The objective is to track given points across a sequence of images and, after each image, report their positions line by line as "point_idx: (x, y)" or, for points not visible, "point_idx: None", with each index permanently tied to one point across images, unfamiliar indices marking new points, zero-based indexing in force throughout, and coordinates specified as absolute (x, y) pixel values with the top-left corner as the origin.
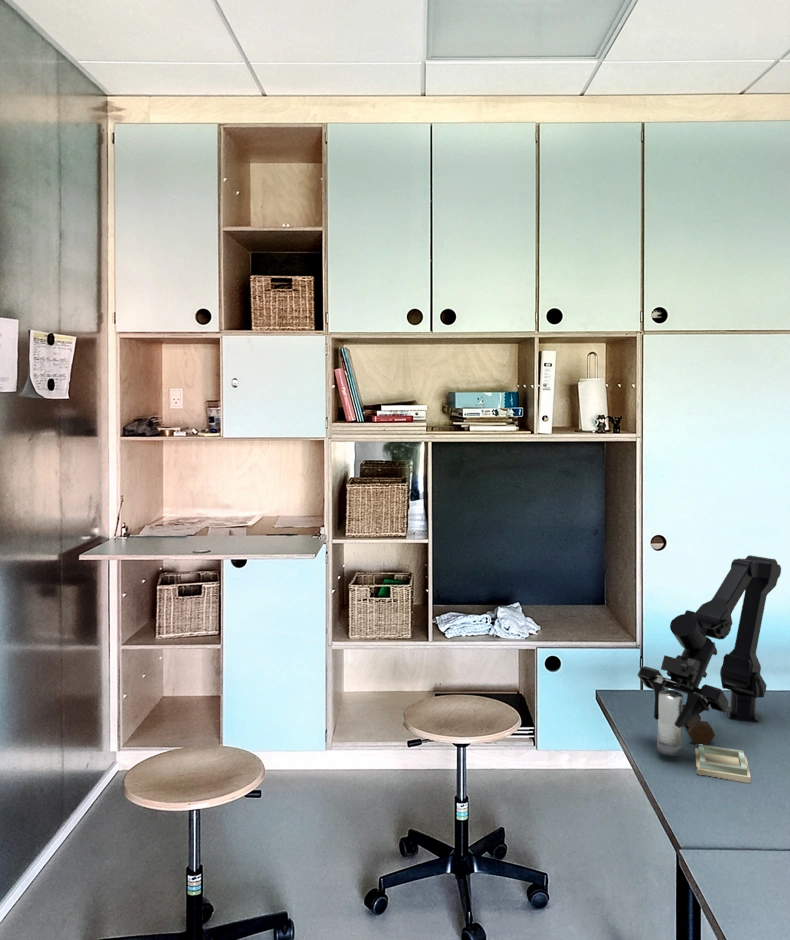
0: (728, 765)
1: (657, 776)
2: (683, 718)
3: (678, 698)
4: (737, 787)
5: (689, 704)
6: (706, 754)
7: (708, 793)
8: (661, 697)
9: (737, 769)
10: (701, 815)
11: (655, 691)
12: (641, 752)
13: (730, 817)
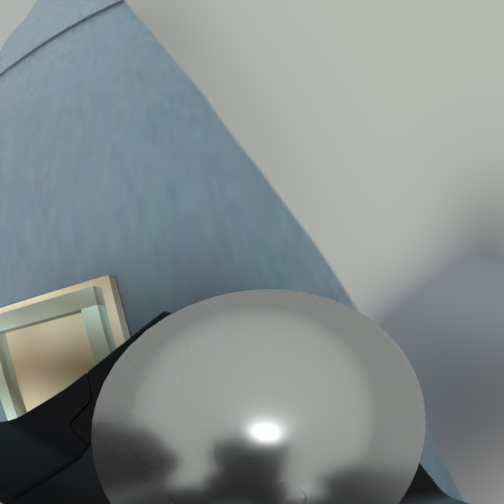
0: (20, 321)
1: (224, 189)
2: (123, 345)
3: (115, 382)
4: (15, 267)
5: (52, 426)
6: None
7: (73, 181)
8: (358, 317)
9: (1, 314)
10: (89, 81)
11: (441, 496)
12: None
13: (35, 113)
